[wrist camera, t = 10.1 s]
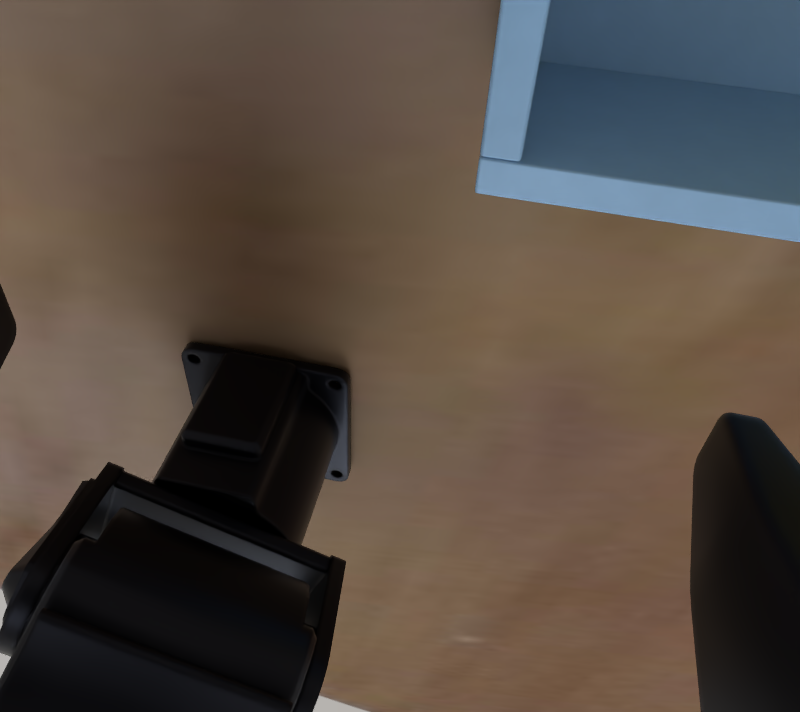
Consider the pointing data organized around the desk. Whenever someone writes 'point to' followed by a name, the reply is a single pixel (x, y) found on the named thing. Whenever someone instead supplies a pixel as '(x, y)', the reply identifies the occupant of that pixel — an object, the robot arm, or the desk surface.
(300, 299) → the desk surface
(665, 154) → the tote
